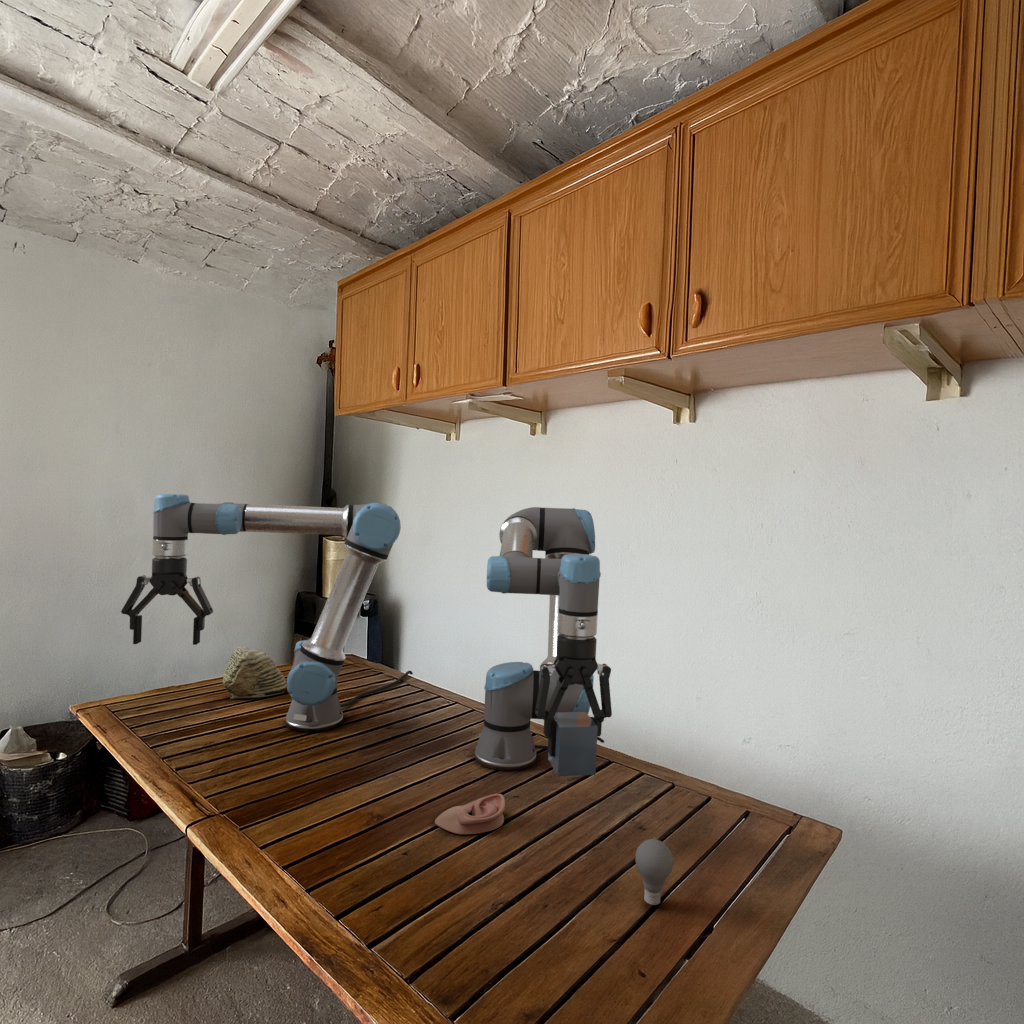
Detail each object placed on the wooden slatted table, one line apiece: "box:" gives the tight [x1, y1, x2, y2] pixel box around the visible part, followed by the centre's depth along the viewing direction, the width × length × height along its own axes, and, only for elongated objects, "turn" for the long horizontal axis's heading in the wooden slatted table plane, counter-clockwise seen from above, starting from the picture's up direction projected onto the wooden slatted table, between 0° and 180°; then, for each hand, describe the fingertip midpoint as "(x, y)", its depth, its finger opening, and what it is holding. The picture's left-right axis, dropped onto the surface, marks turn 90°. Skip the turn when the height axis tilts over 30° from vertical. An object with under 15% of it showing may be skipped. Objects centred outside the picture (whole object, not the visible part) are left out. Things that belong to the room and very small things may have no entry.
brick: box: [547, 712, 598, 777], centre depth 122 cm, size 7×8×9 cm
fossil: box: [222, 646, 287, 699], centre depth 198 cm, size 9×18×15 cm, turn 132°
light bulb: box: [634, 838, 674, 906], centre depth 103 cm, size 6×6×10 cm
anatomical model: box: [434, 793, 506, 835], centre depth 126 cm, size 13×4×12 cm
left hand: (166, 643), depth 155 cm, fingers open, 13 cm apart
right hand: (571, 752), depth 122 cm, fingers closed on brick, 7 cm apart
